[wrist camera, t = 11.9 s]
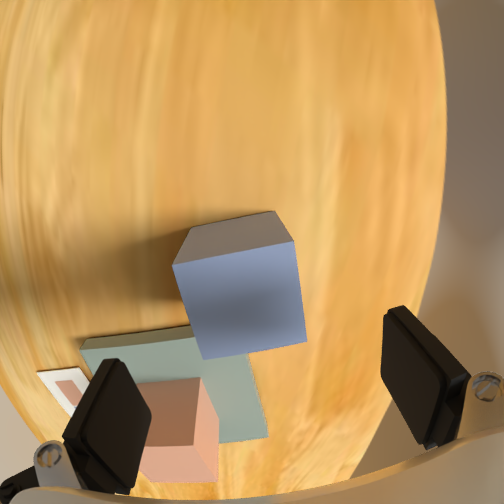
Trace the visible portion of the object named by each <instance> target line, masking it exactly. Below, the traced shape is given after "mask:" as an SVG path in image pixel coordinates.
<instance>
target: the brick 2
mask: <svg viewBox="0 0 504 504" xmlns="http://www.w3.org/2000/svg"><path fill="white" fill-rule="evenodd" d="M172 268H173V271H174V275H175V278H176V281H177V284H178V288H179V291H180V294H181V297H182V300H183V303H184V306H185V309H186V312H187V315H188V318H189V321H190V324H191V327H192V330H193V333H194V336H195V339H196V342H197V344H198V347H199V350H200V353H201V356H202V358H203V360H208V359H215V358H222V357H228V356H235V355H241V354H246V353H252V352H258V351H263V350H268V349H274V348H279V347H284V346H289V345H293V344H298V343H303V342H307V336H306V328H305V319H304V311H303V303H302V295H301V288H300V281H299V273H298V266H297V259H296V252H295V245H294V241H293V239H292V237H291V236H290V234H289V232H288V231H287V229H286V228H285V226H284V225H283V223H282V221H281V220H280V218H279V217H278V215H277V213H276V212H275V211H271V212H266V213H260V214H255V215H250V216H245V217H240V218H235V219H230V220H225V221H220V222H215V223H211V224H206V225H201V226H196V227H192V228H191V229H190V231H189V233H188V235H187V237H186V239H185V240H184V242H183V244H182V246H181V248H180V250H179V252H178V254H177V256H176V258H175V260H174V262H173V264H172Z"/></svg>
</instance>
